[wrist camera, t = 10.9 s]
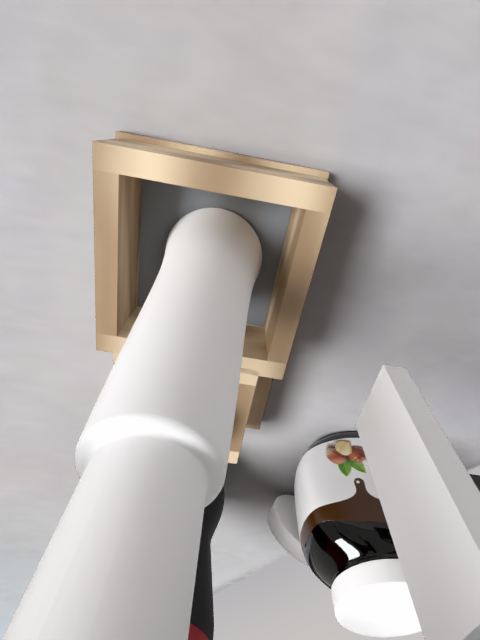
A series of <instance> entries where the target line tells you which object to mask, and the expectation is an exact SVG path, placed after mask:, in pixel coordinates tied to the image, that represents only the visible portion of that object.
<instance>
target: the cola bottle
mask: <svg viewBox="0 0 480 640" xmlns="http://www.w3.org/2000/svg"><path fill="white" fill-rule="evenodd" d="M223 505H224V486H223V487H222V489H221V491H220V493H219V494H218V496H217V497H216V498H215V499H214V500H213V501H212V502H211V503H210V504H209V505H208V506H206V507H205V508H204V515H203V522H202V530H201V538H200V546H199V554H198V562H197V570H196V578H195V586H194V594H193V602H192V610H191V618H190V626H189V634H188V640H213V632H214V617H213V594H212V572H211V550H210V543H211V539H212V536H213V534H214V531H215V529H216V527H217V525H218V522H219V520H220V517H221V514H222V510H223Z"/></svg>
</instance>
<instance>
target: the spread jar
mask: <svg viewBox="0 0 480 640" xmlns="http://www.w3.org/2000/svg"><path fill="white" fill-rule="evenodd" d="M268 523H269V527H270V529H271V531H272V533H273V535H274V536H275V538H276V539H277V541H278V542H279V543H280V544H281V546H282V547H283V548H284V549H285V550H286V551H287V552H288V553H290V554H291V555H292V556H294V557H295V558H296V559H298V560H299V561H301V562H302V563H304V564H306V565H308V566H309V567H310V568H311V570H312V571H313V573H314V574H315V575H316V576H317V577H318V578H319V579H320V580H321V581H322V582H323V583H324V584H325V585H326V586H327V587H329V588H330V589H331V595H332V601H333V606H334V612H335V616H336V619H337V621H338V622H339V623H340V624H341V625H342V626H343V627H344V628H346V629H348V630H350V631H352V632H355V633H357V634H361V635H366V636H373V637H398V636H404V635H409V634H413V633H417V632H420V631H422V630H421V627H420V623H419V620H418V617H417V614H416V611H415V608H414V605H413V602H412V599H411V596H410V592H409V589H408V586H407V583H406V580H405V577H404V574H403V571H402V568H401V564H400V561H399V558H398V555H397V552H396V549H395V546H394V543H393V540H392V537H391V533H390V530H389V527H388V524H387V521H386V518H385V515H384V512H383V509H382V506H381V502H380V499H379V496H378V493H377V490H376V487H375V484H374V481H373V478H372V475H371V471H370V468H369V465H368V462H367V459H366V456H365V453H364V450H363V447H362V444H361V440H360V437H359V434H358V432H343V433H337V434H333V435H330V436H327V437H325V438H323V439H321V440H319V441H317V442H315V443H314V444H313V445H312V446H311V447H309V448H308V449H307V450H306V452H305V453H304V455H303V456H302V458H301V460H300V463H299V465H298V467H297V471H296V477H295V496H292V495H280V496H279V497H277V498H276V499H275V501H274V503H273V505H272V506H271V508H270V510H269V512H268Z"/></svg>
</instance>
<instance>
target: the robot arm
mask: <svg viewBox="0 0 480 640" xmlns="http://www.w3.org/2000/svg"><path fill="white" fill-rule="evenodd" d="M356 428H357V431H358V434H359V437H360V440H361V444H362V447H363V450H364V453H365V456H366V459H367V462H368V465H369V468H370V471H371V475H372V478H373V481H374V484H375V487H376V490H377V493H378V496H379V499H380V502H381V506H382V509H383V512H384V515H385V518H386V521H387V524H388V527H389V530H390V533H391V537H392V540H393V543H394V546H395V549H396V552H397V555H398V558H399V561H400V564H401V568H402V571H403V574H404V577H405V580H406V583H407V586H408V589H409V592H410V596H411V599H412V602H413V605H414V608H415V611H416V614H417V617H418V620H419V623H420V627H421V630H422V633H423V636H424V639H425V640H480V476H479V475H472V474H469V473H468V472H467V470H466V468H465V467H464V465H463V463H462V462H461V460H460V458H459V457H458V455H457V453H456V452H455V450H454V448H453V447H452V445H451V443H450V442H449V440H448V438H447V437H446V435H445V433H444V432H443V430H442V428H441V427H440V425H439V423H438V421H437V420H436V418H435V416H434V415H433V413H432V411H431V410H430V408H429V406H428V405H427V403H426V401H425V400H424V398H423V396H422V395H421V393H420V391H419V390H418V388H417V386H416V385H415V383H414V381H413V380H412V378H411V376H410V375H409V373H408V371H407V370H406V368H402V367H396V366H390V365H384V364H383V365H382V368H381V370H380V372H379V374H378V376H377V379H376V381H375V383H374V385H373V387H372V390H371V392H370V394H369V396H368V398H367V401H366V403H365V405H364V407H363V409H362V411H361V414H360V416H359V418H358V420H357V422H356Z"/></svg>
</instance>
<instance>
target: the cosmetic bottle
mask: <svg viewBox="0 0 480 640" xmlns="http://www.w3.org/2000/svg"><path fill="white" fill-rule="evenodd" d="M261 265H262V249H261V244H260V241H259V239H258V236H257V234H256V233H255V231H254V229H253V228H252V227H251V226H250V224H249V223H248V222H247V221H246V220H244V219H243V218H242V217H240V216H239V215H237V214H235V213H233V212H231V211H228V210H226V209H221V208H202V209H198V210H195V211H193V212H190V213H188V214H187V215H185V216H184V217H182V218H181V219H180V220H179V221H178V222H177V223H176V224H175V225H174V227H173V228H172V230H171V232H170V233H169V236H168V238H167V242H166V248H165V255H164V259H163V262H162V265H161V268H160V271H159V273H158V275H157V278H156V280H155V282H154V284H153V287H152V289H151V291H150V293H149V295H148V297H147V299H146V301H145V303H144V305H143V307H142V309H141V311H140V313H139V315H138V317H137V319H136V321H135V323H134V325H133V327H132V329H131V331H130V333H129V335H128V337H127V339H126V341H125V343H124V345H123V347H122V349H121V351H120V353H119V355H118V357H117V359H116V362H115V364H114V366H113V368H112V370H111V372H110V374H109V376H108V378H107V380H106V382H105V384H104V386H103V389H102V391H101V393H100V395H99V397H98V399H97V402H96V404H95V406H94V408H93V410H92V412H91V415H90V417H89V419H88V421H87V423H86V425H85V428H84V430H83V432H82V434H81V436H80V439H79V441H78V443H77V446H76V449H75V458H74V460H75V468H76V471H77V473H78V476H79V478H80V481H79V483H78V485H77V487H76V489H75V491H74V493H73V495H72V497H71V499H70V501H69V503H68V505H67V507H66V509H65V511H64V513H63V515H62V518H61V520H60V522H59V524H58V526H57V528H56V530H55V532H54V534H53V536H52V538H51V540H50V542H49V544H48V546H47V548H46V550H45V552H44V554H43V557H42V559H41V561H40V563H39V565H38V567H37V569H36V571H35V573H34V575H33V577H32V579H31V581H30V583H29V585H28V587H27V589H26V591H25V593H24V596H23V598H22V600H21V602H20V604H19V606H18V608H17V610H16V612H15V614H14V616H13V618H12V620H11V622H10V624H9V626H8V628H7V630H6V632H5V635H4V637H3V639H2V640H188V634H189V626H190V618H191V610H192V602H193V594H194V586H195V578H196V570H197V562H198V554H199V546H200V538H201V530H202V522H203V515H204V508H205V507H206V506H208V505H209V504H210V503H211V502H212V501H213V500H214V499H215V498H216V497H217V496H218V494H219V493H220V491H221V489H222V487H223V485H224V482H225V477H226V471H227V465H228V458H229V452H230V445H231V438H232V432H233V425H234V418H235V410H236V403H237V395H238V388H239V380H240V371H241V363H242V355H243V346H244V338H245V330H246V323H247V315H248V309H249V303H250V298H251V293H252V289H253V286H254V283H255V281H256V279H257V277H258V275H259V272H260V269H261Z"/></svg>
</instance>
